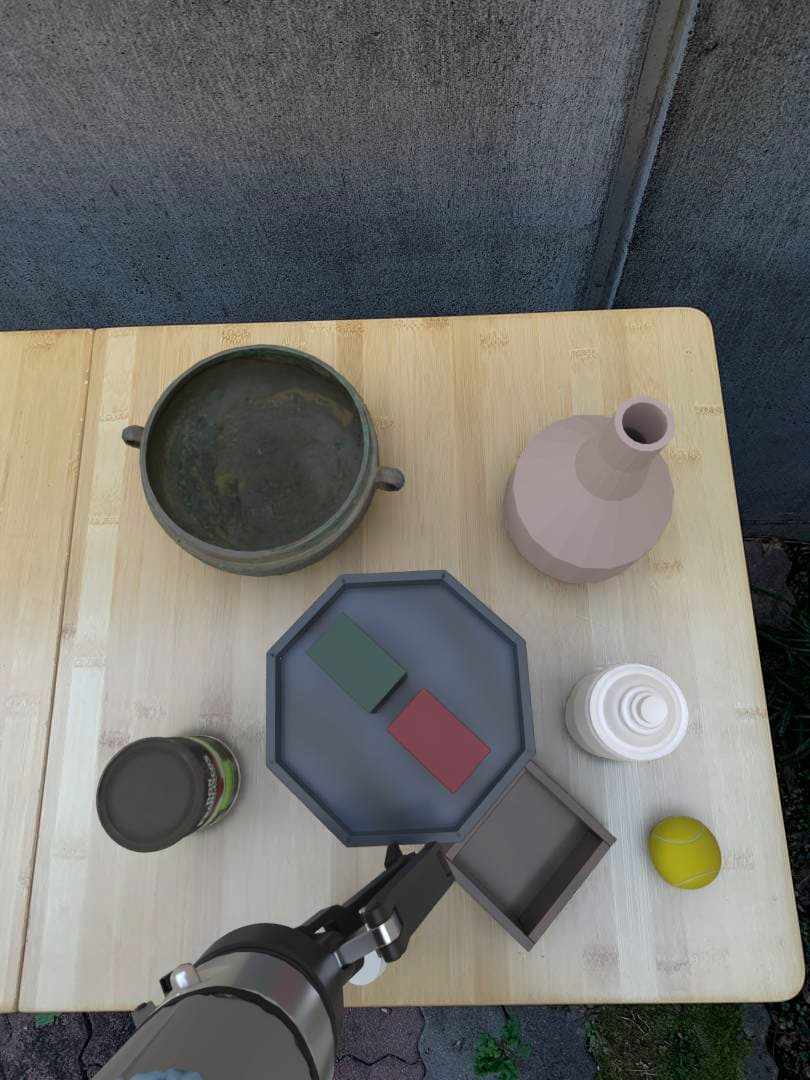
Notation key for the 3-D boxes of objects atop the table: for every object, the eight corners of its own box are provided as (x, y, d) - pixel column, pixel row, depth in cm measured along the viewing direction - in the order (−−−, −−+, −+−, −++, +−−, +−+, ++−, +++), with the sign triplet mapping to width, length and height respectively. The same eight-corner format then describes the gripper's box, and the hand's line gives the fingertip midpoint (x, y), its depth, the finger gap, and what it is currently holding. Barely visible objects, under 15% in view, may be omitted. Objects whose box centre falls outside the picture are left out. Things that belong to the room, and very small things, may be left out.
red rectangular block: (448, 785, 54) (453, 794, 47) (389, 728, 55) (385, 729, 48) (482, 746, 54) (491, 750, 47) (422, 690, 55) (423, 686, 49)
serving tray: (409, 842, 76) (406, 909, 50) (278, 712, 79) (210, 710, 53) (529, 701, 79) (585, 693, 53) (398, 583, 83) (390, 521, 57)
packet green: (374, 714, 55) (369, 713, 48) (318, 660, 56) (304, 652, 49) (408, 677, 56) (407, 671, 49) (351, 624, 57) (342, 611, 50)
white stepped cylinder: (571, 783, 77) (642, 813, 53) (527, 696, 79) (576, 686, 55) (660, 738, 78) (770, 747, 54) (614, 653, 81) (699, 625, 56)
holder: (518, 931, 73) (528, 952, 67) (435, 849, 75) (437, 862, 69) (599, 828, 76) (617, 839, 69) (516, 752, 78) (526, 755, 71)
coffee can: (244, 734, 79) (209, 737, 65) (237, 829, 76) (199, 854, 63) (156, 732, 79) (102, 736, 65) (146, 828, 76) (88, 852, 63)
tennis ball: (631, 822, 76) (652, 833, 69) (689, 804, 76) (716, 812, 69) (654, 888, 74) (678, 906, 67) (714, 869, 74) (744, 885, 68)
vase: (633, 459, 87) (742, 329, 58) (641, 595, 82) (764, 529, 53) (495, 455, 87) (535, 325, 58) (496, 591, 83) (539, 524, 54)
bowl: (423, 417, 89) (424, 358, 74) (386, 613, 82) (380, 591, 68) (184, 379, 90) (140, 315, 76) (130, 568, 84) (71, 537, 70)
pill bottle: (402, 925, 74) (400, 955, 64) (373, 970, 72) (366, 1008, 63) (362, 893, 74) (354, 918, 65) (332, 937, 73) (320, 969, 64)
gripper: (468, 811, 30) (445, 774, 50) (-80, 1116, 27) (131, 946, 48) (555, 983, 28) (494, 873, 49) (-21, 1328, 25) (172, 1057, 46)
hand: (315, 909), depth 48 cm, fingers open, 13 cm apart
